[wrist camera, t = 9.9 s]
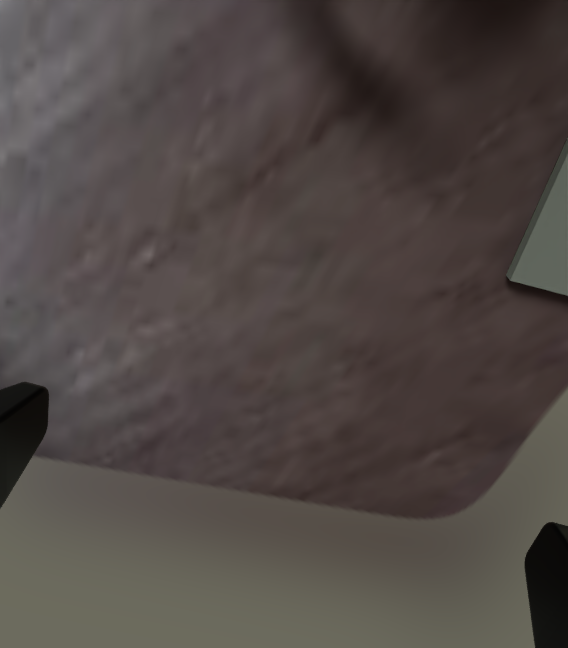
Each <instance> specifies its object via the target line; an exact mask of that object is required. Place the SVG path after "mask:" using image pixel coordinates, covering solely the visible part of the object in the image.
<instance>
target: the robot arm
mask: <svg viewBox="0 0 568 648" xmlns="http://www.w3.org/2000/svg"><path fill="white" fill-rule="evenodd" d="M48 406H49V392H48V390H47V389H46V388H45V387H44V386H40V385H36V384H32V383H29V382H22V383H18V384H16V385H13V386H10V387H7V388H4V389H1V390H0V508H1V507H2V505H3V504H4V502H5V501H6V499H7V497H8V496H9V494H10V492H11V491H12V489H13V487H14V486H15V484H16V482H17V481H18V479H19V478H20V476H21V474H22V473H23V471H24V469H25V468H26V466H27V464H28V463H29V461H30V459H31V458H32V456H33V454H34V453H35V451H36V449H37V448H38V446H39V444H40V443H41V441H42V439H43V438H44V435H45V433H46V430H47V426H48ZM525 573H526V582H527V590H528V598H529V605H530V613H531V620H532V628H533V636H534V643H535V648H568V526H565V525H561V524H558V523H554V522H549V523H547V524H545V525H544V527H543V528H542V529H541V531H540V533H539V534H538V536H537V538H536V539H535V541H534V542H533V544H532V545H531V547H530V549H529V550H528V552H527V554H526V557H525Z"/></svg>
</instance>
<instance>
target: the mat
mask: <svg viewBox="0 0 568 648" xmlns="http://www.w3.org/2000/svg"><path fill="white" fill-rule="evenodd" d="M506 276H507V277H508V278H509V280H510V281H514V282H518V283H521V284H525V285H529V286H533V287H537V288H541V289H544V290H548V291H552V292H556V293H560V294H563V295H567V296H568V138H567V140H566V143H565V145H564V147H563V149H562V151H561V154H560V156H559V158H558V160H557V163H556V165H555V167H554V169H553V172H552V174H551V176H550V178H549V181H548V183H547V185H546V187H545V189H544V192H543V194H542V196H541V198H540V201H539V203H538V205H537V207H536V210H535V212H534V214H533V216H532V218H531V221H530V223H529V225H528V227H527V230H526V232H525V234H524V236H523V239H522V241H521V243H520V245H519V248H518V250H517V252H516V254H515V256H514V259H513V261H512V263H511V265H510V268H509V270H508V272H507V274H506Z"/></svg>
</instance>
